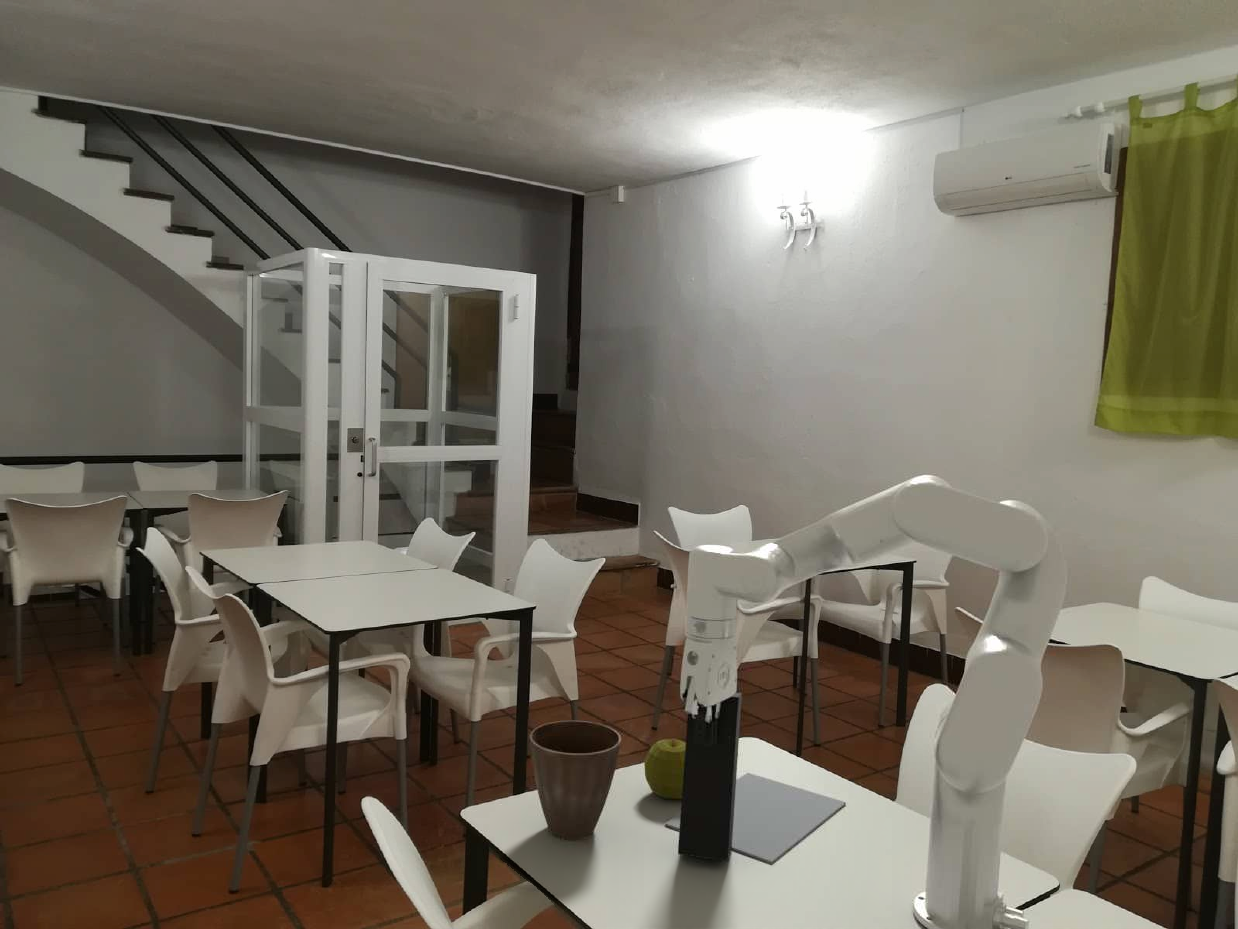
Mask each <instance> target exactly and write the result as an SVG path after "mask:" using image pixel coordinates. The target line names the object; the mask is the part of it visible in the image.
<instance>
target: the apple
mask: <svg viewBox="0 0 1238 929" xmlns="http://www.w3.org/2000/svg"><path fill="white" fill-rule="evenodd" d="M685 748H686V741H682V740H681V739H680V740H679V739H676V738H674V736H672V738H670V739H669V738H668V739H660V740H657V741H656V742H655V743H654V744H653V745H652V746H651V747H650V749H649V750H648V752H647V754H646V756H645V758H644V760H643V761H644V776H645V780H646V782H647V784H648V786H649V788H650V790H651V792H653V793H655V794H656V795H658V796H660V797H662V798H665V799H668V800H677V799H682V789H683V775H684V761H685Z"/></svg>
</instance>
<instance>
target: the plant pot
mask: <svg viewBox="0 0 1238 929" xmlns="http://www.w3.org/2000/svg"><path fill="white" fill-rule="evenodd" d="M529 740H530V751H531V759H532V767H533V768H532V769H533V773H534V779H535V780H534V781H535V784H536V788H537V793H538V798H539V802H540V806H541V809H542V812H543V815H544V816H543V817H544V818H545V822H546V825H547V828H548V830H549V833H550V832H551V833H552V834H551V833H550V834H551V835H552V836H554V835H555V836H554V837H556V838H558V837H559V839H561V838H564V839H563V840H566V839H570V840H569V841H577V839H579V840H583V839H582V838H584V839H586V838H588V837H590V836H591V835H592V834H593V833H594V831H595V829H596V826H597V825H598V823H599V821H600V818H601V816H602V812H603V810H604V807H605V805H606V802H607V799H608V795H609V793H610V790H611V786H612V783H613V781H614V776H615V771H616V767H617V763H618V758H619V754H620V753H619V752H620V749H621V748H620V747H621V742H622V737H621V734H620V733H619V732H618V731H617V730H615V729H614V728H612V727H610V726H608V725H604V724H602V723H596V722H593V721H587V720H586V721H585V720H560V721H559V720H558V721H553V722H548V723H545V724H542V725H540V726H537V727H536V728H534V729H533V730H532V731H531V733H530V735H529ZM574 839H575V840H574Z"/></svg>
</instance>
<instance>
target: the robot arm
mask: <svg viewBox="0 0 1238 929" xmlns="http://www.w3.org/2000/svg"><path fill="white" fill-rule="evenodd" d="M917 543H918V544H921V545H923V546H924V547H925V546H926V547H928V548H931V549H934V550H935V551H939V552H942V553H944V554H948V555H951V556H954V557H957V558H960V559H963V560H966V561H969V562H972V563H975V564H978V565H981V566H985V567H987V568H990V569H993V570H997V571H999V576H998V582H997V585H996V588H995V591H994V593H993V595H992V599H991V602H990V605H989V607H988V610H987V612H986V615H985V617H984V618H983V619H984V620H983V621H982V624H981V626H980V629H979V631H978V633H977V636H976V638H975V639H974V642H973V643H972V645H971V646H970V648H969V650H968V652H967V655H966V657H965V665H964V672H963V676H962V678H961V680H960V683H959V686H958V688H957V691H956V694H955V696H954V699H953V700H952V701H951V702H950V703H949V704H948V705H946V707H944V709H943V710H942V712H940V715H939V718H938V720H937V723H936V727H935V728H936V730H935V734H934V735H935V737H934V739H935V740H934V745H933V746H934V748H933V752H934V766H933V768H934V769H933V770H934V771H933V781H932V782H933V784H932V797H931V808H930V821H929V822H930V823H929V835H928V836H929V840H928V848H927V849H928V851H927V853H928V854H927V866H926V878H925V879H926V880H925V883H926V884H925V891H923V892H920V893H919V894H918V895H916V897H915V898H914V899H913V903H912V912H913V915H914V917H915V918H916V919H917V921H918V922H919V923H920V924H921V925H922V926H924V927H925V928H927V929H1006V928H1007V929H1029V926H1030V921H1029V919H1027V918H1024V913H1025V912H1024V911H1023V910H1020V909H1017V908H1013V907H1010V906H1008V905H1007V903H1004V892H1003V891H999V880H1000V879H999V878H1000V866H1001V864H1000V863H1001V852H1002V838H1003V826H1004V825H1003V823H1004V814H1005V802H1006V788H1007V777H1008V775H1009V773H1010V771H1011V769H1012V767H1013V765H1014V764H1015V761H1016V759H1017V757H1018V754H1019V752H1020V750H1021V747H1022V746H1023V743H1024V740H1025V738H1026V735H1027V734H1028V732H1029V728H1030V726H1031V724H1032V721H1033V719H1034V717H1035V715H1036V712H1037V709H1038V706H1039V703H1040V700H1041V696H1042V692H1043V683H1044V682H1043V675H1042V669H1041V668H1042V667H1041V666H1042V660H1043V657H1044V654H1045V652H1046V649H1047V647H1048V644H1049V642H1050V639H1051V637H1052V634H1053V631H1054V629H1055V626H1056V623H1057V620H1058V618H1059V616H1060V612H1061V609H1062V607H1063V603H1064V601H1065V600H1064V599H1065V596H1066V591H1067V582H1068V571H1067V570H1068V568H1067V562H1066V558H1065V554H1064V549H1063V547H1062V544H1061V542H1060V539H1059V537H1058V536H1057V534H1056V533H1055V531H1054V529H1053V527H1051V525H1050V524H1049V523H1048V522H1047V520H1046V519H1045V518H1044V517H1043V516H1042V514H1040V513H1039V512H1038V511H1037V510H1036V509H1035V508H1034V507H1032V506H1031V505H1029V504H1027V503H1025V502H1022V501H1019V500H1014V499H1013V500H1012V499H1010V500H1003V501H1000V502H998V501H995V500H992V499H988V498H985V497H982V496H977V495H975V494H972V493H968V492H966V491H963V490H960V489H958V488H954V487H952V486H951V484H949V483H948V482H947V481H946V480H945V479H943V478H941V477H940V476H937V475H936V476H935V475H931V474H930V475H929V474H925V475H920V476H915V477H913V478H910V479H908V480H905V481H904V482H901V483H899V484H896V485H895V486H892V487H889V488H887V489H885V490H883V491H881V492H878V493H876V494H874V495H871V496H869V497H867V498H865V499H862V500H860V501H857V502H855V503H853V504H850V505H848V506H846V507H843V508H841V509H839V510H836V511H834V512H832V513H830V514H829V515H827V516H825V517H824V518H822V519H820V520H818V521H817V522H814V523H811V524H810V525H808V526H805V527H802V528H800V529H798V530H796V531H794V532H792V533H789V534H787V535H784V536H782V537H780V538H778V539H775V540H773V541H770V542H768V543H766V544H763V545H762V546H759V547H757V548H756V549H753V551H749V552H747V553H737V551H736V550H735V549H733V547H732V548H731V547H729V546H725V545H720V544H719V545H716V544H715V545H714V544H703V545H701V544H700V545H697V546H694V547H693V548H691V550H690V552H689V556H688V569H687V592H686V593H687V594H686V614H685V633H684V636H686V638H685V643H684V648H683V653H682V654H683V656H682V663H681V670H680V688H679V690H680V691H679V692H680V698H681V700H682V701H683V702H685V708H684V712H685V713H686V714H688V713H689V714H692V717H693V719H694V732H693V742H694V743H696V744H699V745H703V746H706V747H711V746H712V745H715V744H716V736H717V718H718V717H719V713H720V705H721V703H722V701H724V700H726V699H728V698H730V697H731V696H733V695H734V694H735V693H737V685H738V650H737V641H736V635H735V633H736V614H737V600H740V601H743V602H747V603H751V604H757V605H758V604H760V605H761V604H762V605H763V604H767V603H770V602H772V601H774V600H775V599H776V598H778V596H780V594H782V592H784V591H785V590H786V589H787V588H790V587H792V586H794V585H797V584H798V583H802V582H804V581H806V580H808V579H811V578H814V577H815V576H818V575H821V574H823V573H826V572H827V573H828V572H829V571H833V570H837V569H840V568H856V567H860V566H863V565H866V564H870V563H871V562H873V561H875V560H877V559H881V558H883V557H885V556H887V555H891V554H893V553H895V552H898V551H900V550H902V549H904V548H907V547H909V546H912V545H914V544H917ZM715 718H716V719H715Z"/></svg>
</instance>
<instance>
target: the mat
mask: <svg viewBox="0 0 1238 929" xmlns="http://www.w3.org/2000/svg"><path fill="white" fill-rule="evenodd" d="M845 804H846V805H847V802H846V801H843V800H840V799H836V798H834V797H829V796H826V795H823V794H820V793H816V792H813V791H810V790H807V789H803V788H801V787H800V788H799V787H796V786H793V785H790V784H788V783H787V784H786V783H784V782H783V783H782V782H780V781H777V780H773V779H770V778H766V777H763V776H760V775H757V774H754V773H751V772H747V773H745V774H744V775H742V776H740V777H739V778H736V790H735V805H734V820H733V835H732V849H731V851H735V852H737V853H740V854H743V855H746V856H749V857H752V858H753V859H754V858H755V859H757V860H760V861H763V862H765V863H768V864H771V865H772V864H773V863H775V862H777V860H778V859H779V858H781V857H782V856H783V855H785V854H786V853H787V852H788V851H790V850H791V849H792V848H793V847H795V846H796V845H797V844H798V843H800V842H801V841H802V840H804V839H805V838H806V837H807V836H808V835H810V834H812V832H813V831H815V830H816V829H817V828H819V827H820V826H821V825H822V824H823V823H824V822H826V821H827V820H828V819H829V818H831V817H832V816H834V815H835V814H836V813H837V812H839V811H840V810H841V809H842V808H843V807H845V806H846V805H845ZM840 808H841V809H840ZM680 816H681V813H680V814H678V815H676V816H674V817H673V818H672V819H670V820H668V821H666V822H665V823H664V826H665V827H667V828H670V829H673V830H676V831H679V830H680Z"/></svg>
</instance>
